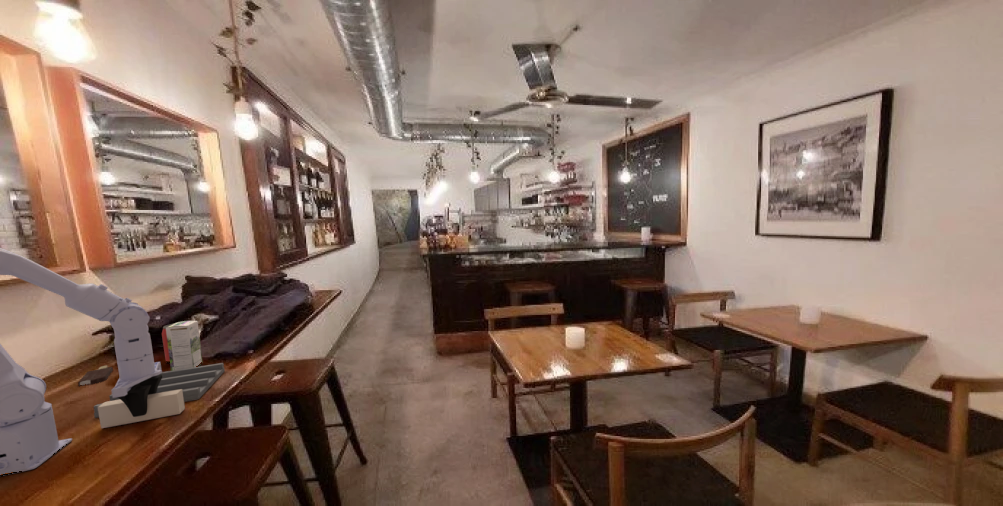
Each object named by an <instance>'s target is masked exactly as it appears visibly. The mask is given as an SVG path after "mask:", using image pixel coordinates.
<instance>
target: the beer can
mask: <svg viewBox="0 0 1003 506" xmlns="http://www.w3.org/2000/svg"><path fill="white" fill-rule="evenodd" d="M175 323H176V322H175ZM175 323H171V324H167V325H164V326H163V327H162V332H161V337H162V344H163V350H164V351H163V353H164V358H165V362H166V361H170V358H169V351H168V342H167V334H166V328H167V327H169V326H171V325H173V324H175Z"/></svg>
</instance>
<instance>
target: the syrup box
mask: <svg viewBox="0 0 1003 506" xmlns="http://www.w3.org/2000/svg"><path fill="white" fill-rule="evenodd" d="M172 324H173V325H171V326H169V327H167V328H166V334H167V342H168V351H169V358H170V363H169V364H170V371H173V370H180V369H186V368H193V367H196V366H198V365H199V364H200V363H201V362H202V363H203V356H202V346H201V336H200V329H199V321H198V320H184V321H183V320H182V321H178V322H175V324H174V323H172ZM200 365H201V364H200ZM200 365H199V366H200ZM199 366H198V367H199Z"/></svg>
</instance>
